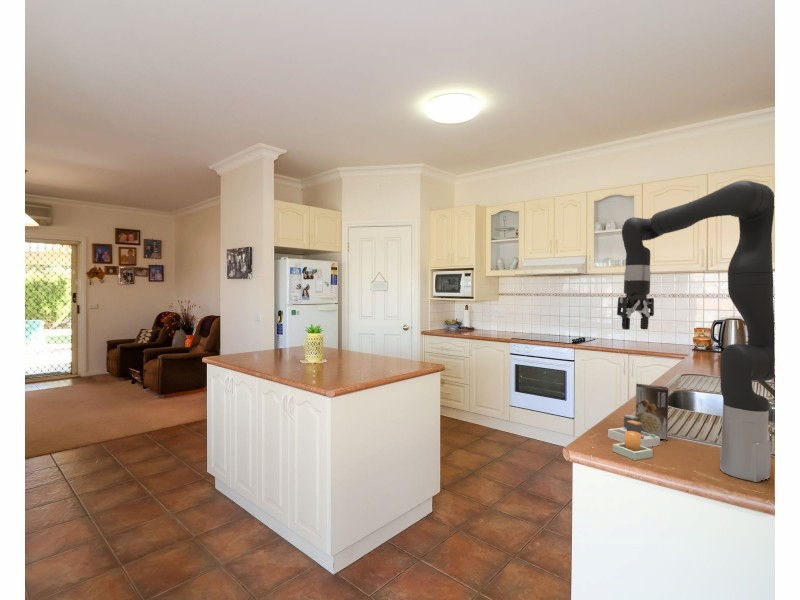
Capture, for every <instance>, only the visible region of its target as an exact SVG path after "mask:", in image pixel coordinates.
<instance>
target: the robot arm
mask: <svg viewBox="0 0 800 600" xmlns="http://www.w3.org/2000/svg"><path fill="white" fill-rule="evenodd" d="M774 197H775V194H774V191H773V190H772V189H771V188H770V187H769V186H768V185H766V184H763V183H760V182H755V181H752V180H738V181H734V182H733V183H729V184H727V185H725V186H723V187H721V188H719V189H717V190H715V191H713V192H711V193H709V194H707V195H704V196H701V197H700V198H698V199H697V198H696V199H695V200H692V201H689V202H687V203H684V204H681V205H678V206H674V207H670V208H668V209H664V210H660V211H658V212H656V213H654V214H653V215H652V216H651V218H649V217H648V218H642V217H634V216H633V217H629V218H627V219H626V220H625V221H624V223H623V225H622V228H621V237H622V242H623V246H624V250H625V254H626V255H625V269H624V275H623V276H624V277H623V280H624V281H623V282H624V283H623V293H624V294H625V296H619V297H618V298H617V307H616V308H617V311H616V315H617V316H619V317H620V318H621V328H622V330H627V331H628V330H630V327H631V326H630V325H631V316H632V314H633V313H634V312H637V313H639V315H640V325H639V327H640V329H641V330H648V329H649V322H650V321H649V319H650V317H653V316H654V315H655V299H654V297H647V295H649V294H651V293H650V292H651V276H652V275H651V250H650V249H649V248H648V247H646V246H645V245H644V244H643V242H644V241H651V240H653V239H656V238H658V237H661V236H663V235H665V234H670V233H673V232H678V231H681V230H684V229H688V228H690V227H692V226H694V225H695V224H697V223H699V222H701V221H703V220H705V219H709V218H715V217H717V218H718V217H725V216H731V217H733V218H738V223H739V225H738V226H739V227H738V228H739V238H738V239H739V240H738V244H737V246H736V249H735V251H734V253H733V255H732V257H731V260H730V261H729V265H728V268H727V291H728V295H729V296H728V297H729V298H730V300H731V302H732V304H733V305H734V307H735V308H736V310H737V311H738V313H739V314H740V316H741V317H742V319H743V321H744V323H745V326H746V330H747V332H746V333H747V344H746V343H732V344H728V345H727V346H726V347H724V349H723V350H722V352H721V354H720V355H721V356H720V361H719V364H720V365H719V368H720V369H719V373H720V377H719V378H720V393H721V395H722V399H723V400H722V401H723V402H722V403H723V404H722V420H721V423H722V424H721V442H720V443H721V445H720V467H719V468H720V469H719V470H721V472H722V473H724V474H726V475H729V476H732V477H734V478H738V479H740V480H741V479H742V480H746V481H751V482H754V483H758V482H762V481H761V480H763V481H766V480H765V479H766V478H767V477H768V476H770V477H771V459H772V441H771V440H768V435H769V434H768V433H769V432H768V431H769V413H770V411H769V410H770V409H769V408H770V401H769V399H768V398H767V397H765V396H764V395H760V394H758V393H756V392H755V391H754V389H753V382H767V381H768V382H769V381H772V380H774V321H775V309H774V307H775V305H774V270H773V239H772V238H773V235H772V234H773V224H774V223H773V222H774V215H775V206H774Z"/></svg>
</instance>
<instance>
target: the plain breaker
mask: <svg viewBox="0 0 800 600" xmlns="http://www.w3.org/2000/svg"><path fill="white" fill-rule="evenodd" d="M630 420H634V421H637V422H638V417H636V416H635V415H632V414H624V415H623V427H624V428H627V421H630Z"/></svg>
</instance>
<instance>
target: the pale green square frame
mask: <svg viewBox="0 0 800 600" xmlns="http://www.w3.org/2000/svg"><path fill="white" fill-rule="evenodd" d="M624 444H625V443H622V442H619V443H613V444H612V453H613V452H614V453H616V454H618V455H620V456H623V457H626V458H629V459H631V460H632V461H633V460H634V461H638V460H644V459H649V458H654V457H653V456H654V455H653V454H654V449H652V448H650V447H647V448H646V447H644V446H640V451H635V452H634V451H632V450H629V449H626V448H624Z"/></svg>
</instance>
